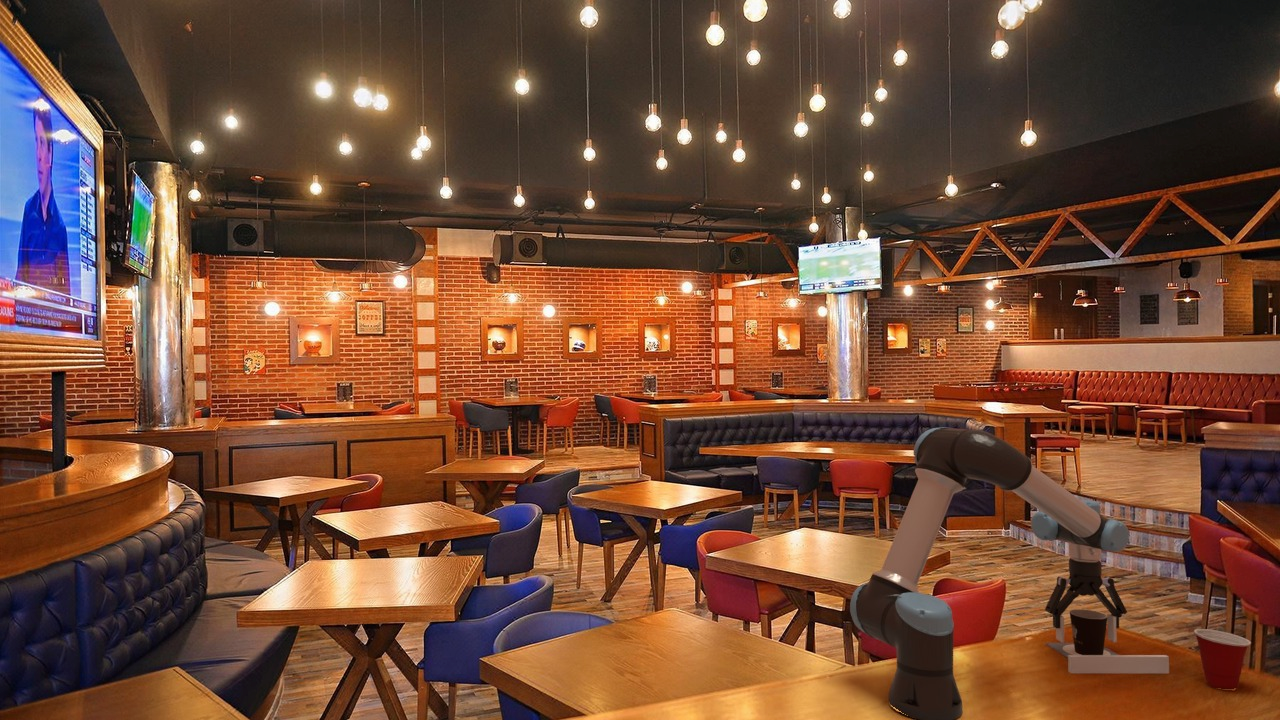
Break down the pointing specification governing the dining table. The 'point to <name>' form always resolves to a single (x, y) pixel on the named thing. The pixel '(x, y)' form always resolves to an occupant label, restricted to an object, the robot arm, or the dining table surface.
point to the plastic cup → (1221, 657)
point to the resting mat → (1072, 649)
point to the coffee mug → (1088, 631)
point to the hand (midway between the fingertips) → (1086, 640)
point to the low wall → (1118, 664)
